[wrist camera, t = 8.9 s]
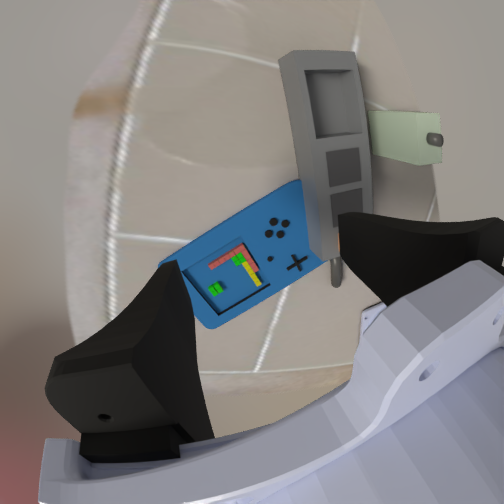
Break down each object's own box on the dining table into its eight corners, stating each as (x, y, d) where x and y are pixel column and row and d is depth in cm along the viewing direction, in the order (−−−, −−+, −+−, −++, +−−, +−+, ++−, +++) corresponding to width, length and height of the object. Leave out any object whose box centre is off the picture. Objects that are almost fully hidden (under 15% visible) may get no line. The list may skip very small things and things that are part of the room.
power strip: (354, 276, 27) (374, 294, 24) (311, 292, 27) (328, 313, 23) (334, 58, 18) (359, 50, 15) (278, 59, 17) (296, 48, 14)
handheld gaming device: (348, 249, 25) (210, 334, 25) (342, 244, 26) (208, 326, 26) (316, 170, 21) (153, 270, 21) (310, 168, 22) (154, 263, 22)
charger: (395, 151, 22) (450, 165, 16) (372, 154, 22) (428, 168, 16) (391, 110, 21) (448, 114, 15) (367, 111, 20) (425, 113, 14)
